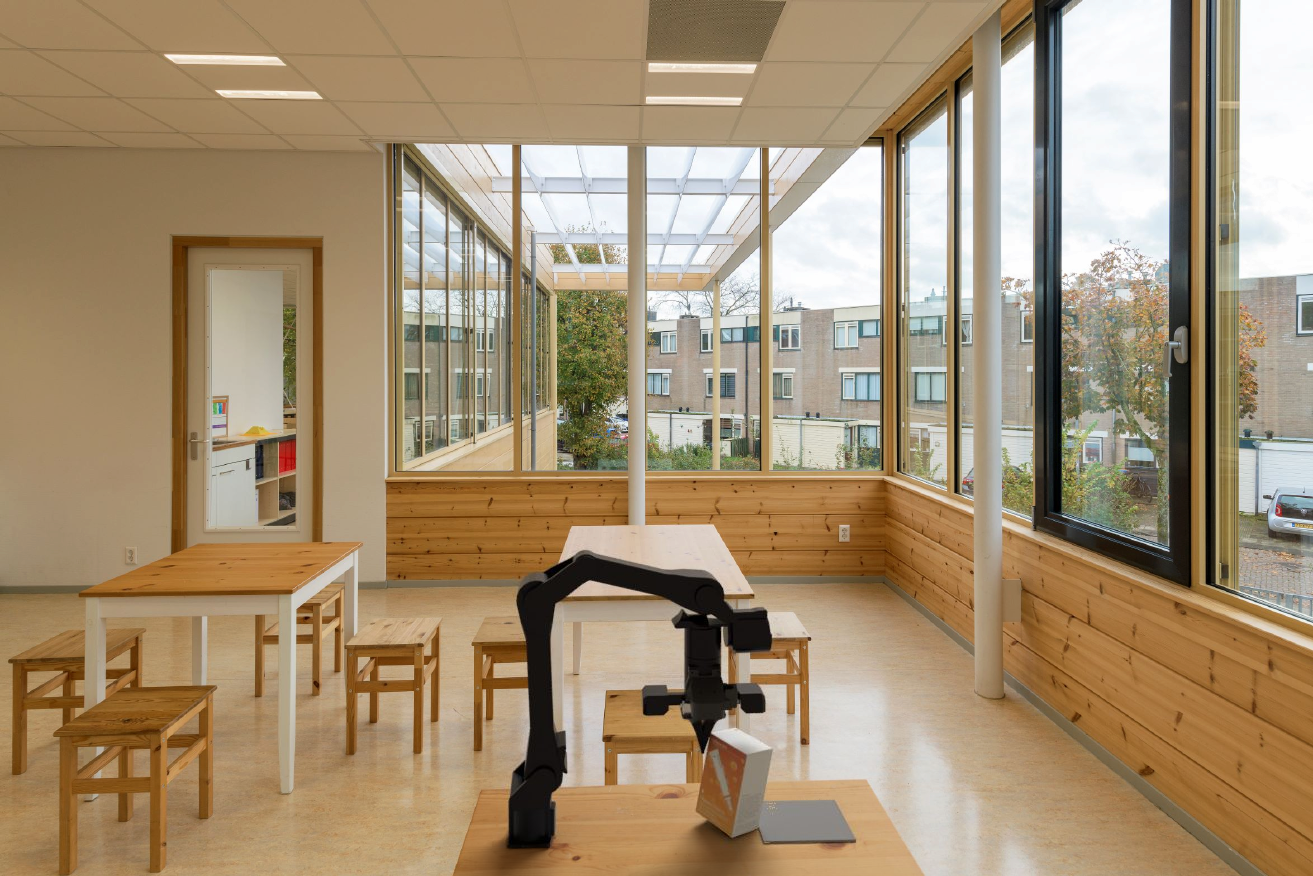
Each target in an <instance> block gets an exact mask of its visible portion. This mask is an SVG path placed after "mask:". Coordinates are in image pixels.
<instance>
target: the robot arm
mask: <svg viewBox="0 0 1313 876" xmlns="http://www.w3.org/2000/svg"><path fill="white" fill-rule="evenodd" d="M589 581H590V582H595V583H598V584H599V583H600V584H604V585H609V586H612V587H618V588H622V589H625V590H631V591H635V592H638V593H639V592H640V593H645V594H648V595H653V596H657V597H661V598H663V599H665V600H668V601H670V602H671V603H674V604H676V605H677V606H679V607H681V608H680V610H679V611H678V613H677V614H676V615H674V616H673V617H672V618H671V619H670V620H671V623H672V625H673V627H674V629H676V630H679V629H682V630H683V629H684V631H683V632H684V633H683V636H684V637H683V640H684V642H683V643H684V646H683V647H684V648H683V650H684V651H683V653H684V655H683V658H684V659H683V660H684V661H683V663H684V664H683V665H684V666H683V668H684V669H683V680H684V681H683V689H684V690H683V691H675V692H673V691H672V692H671V691H670V692H669V690H668V686H667V684H648V685H644V686H643V687H642V688H641V708H642V715H643V716H646V717H658V716H661V717H662V716H665V715H666V714H667V713H668V712H669V711H670V706H679V711H680V715H681V718H682V720H685V721H686V720H687V721H689V722H690V724H691V726H692V728H693V731H694V733H695V736H696V739H697V742H698V745H699V752H700V754H701V755H704V754H705V751H706V748H707V746H708V743H709V737H710V734H711V733H712V731H713V729H714V727H715V725H716V724H717V723H718V722H719V721H721V720H724V719H726V718H727V713H726V711H732V710H733V709H737V708H738V705H739V706H740V709H741V711H743V712H744V713H745V714H763V713H766V707H767V706H766V705H767V704H766V703H767V702H766V696H765V693H764V692H763V689H762V688H761V686H760V685H759V684H758V683H757V682H736V683H727V682H724V680H723V678H722V638H723V643H724V647H725V648H730V651H731V653H732V654H751V653H752V654H753V653H755V654H756V653H770V652H771V650H772V646H773V634H772V632H771V626H770V621H769V618H768V610H767V608H765V606H757V607H752V608H751V607H750V608H733V607H732V605H730V603H729V602H728V601H727V600H726V601H725V596H726V595H725V590H724V587H723V586H722V584H721V583H720V581H719V580H718V579H717V578H716V577H715V576H714V575H713V573H711V572H710V571H707V570H705V569H695V568H694V569H693V568H677V569H676V568H675V569H668V568H667V569H665V568H659V567H656V566H651V565H647V564H643V563H638V562H633V561H631V560H626V559H625V560H624V559H621V558H616V557H612V556H607V555H603V554H600V553H596V552H593V551H592V550H589V549H581V550H580V551H578V552H576V553H575V554H574V555H572V556H571V557H568V558H567V559H565V560H562V561H560V562H558V563H556V564H554V565H553V566H552V565H551V566H550V567H548V568H546V569H545V570H543V571H542V572H540V571H535V572H530V573H528V574H527V575H525V576H523V578H522V579H521V580H520V582H519V584H518V588H517V593H516V594H517V595H516V599H515V601H516V602H515V603H516V607H517V613H518V616H519V617H518V618H519V621H520V625H521V629H522V632H523V635H524V638H525V644H526V646H525V647H526V649H525V650H526V667H527V668H526V670H527V671H526V672H527V673H526V675H527V692H528V711H529V712H528V714H529V715H528V716H529V732H528V737H527V744H526V751H525V759H524V760H522V762H521V763H520V764H519V765H518V766H517V767H516V768H515V769H514V770H512V774H511V775H512V776H511V781H510V782H511V783H510V791H509V797H508V805H507V806H508V808H507V809H508V813H507V814H508V815H507V816H508V817H507V819H508V825H507V826H508V831H507V832H508V835H507V839H506V842H505V843H506V845H505V846H506V847H505V848H508V849H509V848H510V849H511V848H513V849H514V848H515V849H517V848H549V847H550V846H551V844H552V839H553V838H552V837H555V835H556V828H557V803H556V801H555V800H554V801H553V793H555V792H556V791H557V790H558V789H559V788H560V787H561V786H562V783H563V781H564V780H563V779H564V775H567V774H568V773H569V772H568V753H567V735H566V734H567V732H566V731H567V730H561V731H558V730H557V727H556V723H555V716H554V691H553V673H552V671H553V669H552V643H551V636H552V629H553V624H554V619H555V618H554V617H555V611H556V605H557V604H558V603H560V602H561V601H563V600H565V599H567V597H569V596H570V595H571V594H572V593H574V592H575V591H576V590H577V589H578V588H580V587H581V586H582V585H585V584H586V583H587V582H589ZM685 609H686V610H688V611H691V612H693V613H688V612H686V611H685ZM708 616H713V617H708ZM722 636H723V637H722Z"/></svg>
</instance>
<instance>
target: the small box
mask: <svg viewBox="0 0 1313 876" xmlns="http://www.w3.org/2000/svg"><path fill="white" fill-rule="evenodd" d="M706 748H707V749H706V755H705V759H704V764H703V769H702V775H701V781H700V785H699V791H698V796H697V802H696V807H695V812H696V813H697V814H698V815H700V816H701V817H703V818H704V819H706V820H707V821H708V822H710V823H711V824H713V825H714V826H715V827H717V828H718V829H720V830H721V831H722V832H724V833H725V834H726V835H728V836H729V837H730V838H736V837H737V836H741V835H744V834H746V833H747V834H748V833H750V832H752V831H756V830H758V829H759V827H758V826H759V821H760V816H761V810H762V805H763V801H765V800H764V798H765V795H766V794H765V793H766V788H767V784H768V783H767V782H768V777H769V771H770V768H771V767H770V766H771V761H772V757H773V756H772V755H773V751H774V749H773V747H770V746H769V745H767V744H765V743H763V742H762V741H761V740H759V739H758V738H756V737H754V736H752V735H749V734H748V733H746V732H744V731H742V730H740V729H739V728H738V727H731V728H726V729H722V730H717V731H714V732H711V734H710V737H709V740H708V743H707V747H706ZM757 828H758V829H757ZM755 829H756V830H755Z"/></svg>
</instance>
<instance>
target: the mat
mask: <svg viewBox="0 0 1313 876" xmlns="http://www.w3.org/2000/svg"><path fill="white" fill-rule="evenodd" d="M767 803H768V804H767ZM769 803H773V804H769ZM774 803H776V804H774ZM773 805H774V806H773ZM769 806H772V807H775V808H773V809H772V807H770V808H771V809H770V808H769ZM767 808H768V809H767ZM776 808H777V809H776ZM772 813H773V814H772ZM758 829H760V830H759V833H760V832H761V833H760V836H761V835H762V837H761V839H763V840H762V842H779V843H778V844H782V843H781V842H784V843H785V844H787V843H789V844H790V843H793V844H795V843H798V844H799V843H839V842H840V843H844V842H847V843H849V842H850V843H851V842H857V838H856V836H855V835H854V833H853V830H852V829H851V827H850V826H849V824H848V822H847V819H846V818H845V816H844V815H843V813H842V811H841V809H840V807H839V805H838V804H837V801H836V800H835V799H809V800H808V799H806V800H804V799H803V800H801V799H800V800H798V799H797V800H763V805H762V810H761V816H760V821H759V827H758ZM784 843H783V844H784Z"/></svg>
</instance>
